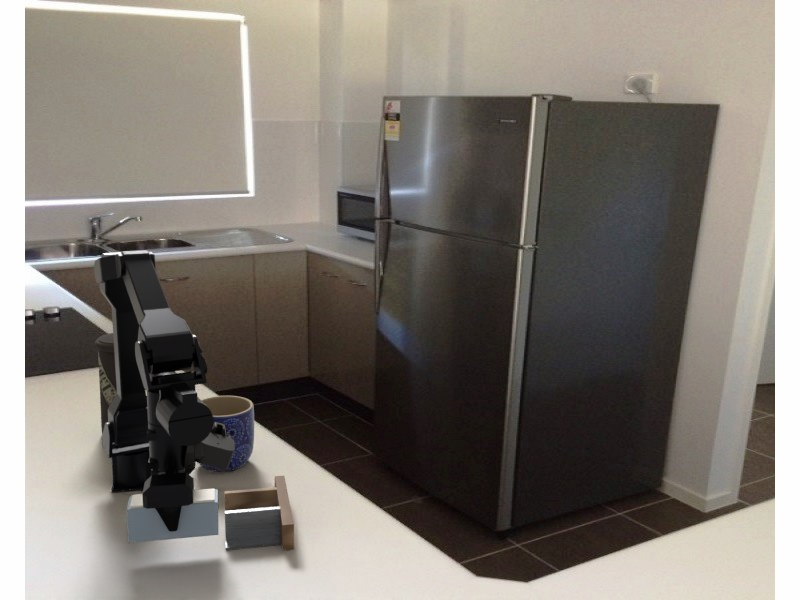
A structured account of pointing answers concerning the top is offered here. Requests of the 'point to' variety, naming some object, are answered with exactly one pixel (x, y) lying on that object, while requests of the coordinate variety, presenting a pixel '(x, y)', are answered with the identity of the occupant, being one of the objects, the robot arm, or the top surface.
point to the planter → (234, 426)
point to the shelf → (266, 499)
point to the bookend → (252, 528)
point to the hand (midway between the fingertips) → (174, 523)
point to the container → (106, 374)
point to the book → (192, 520)
